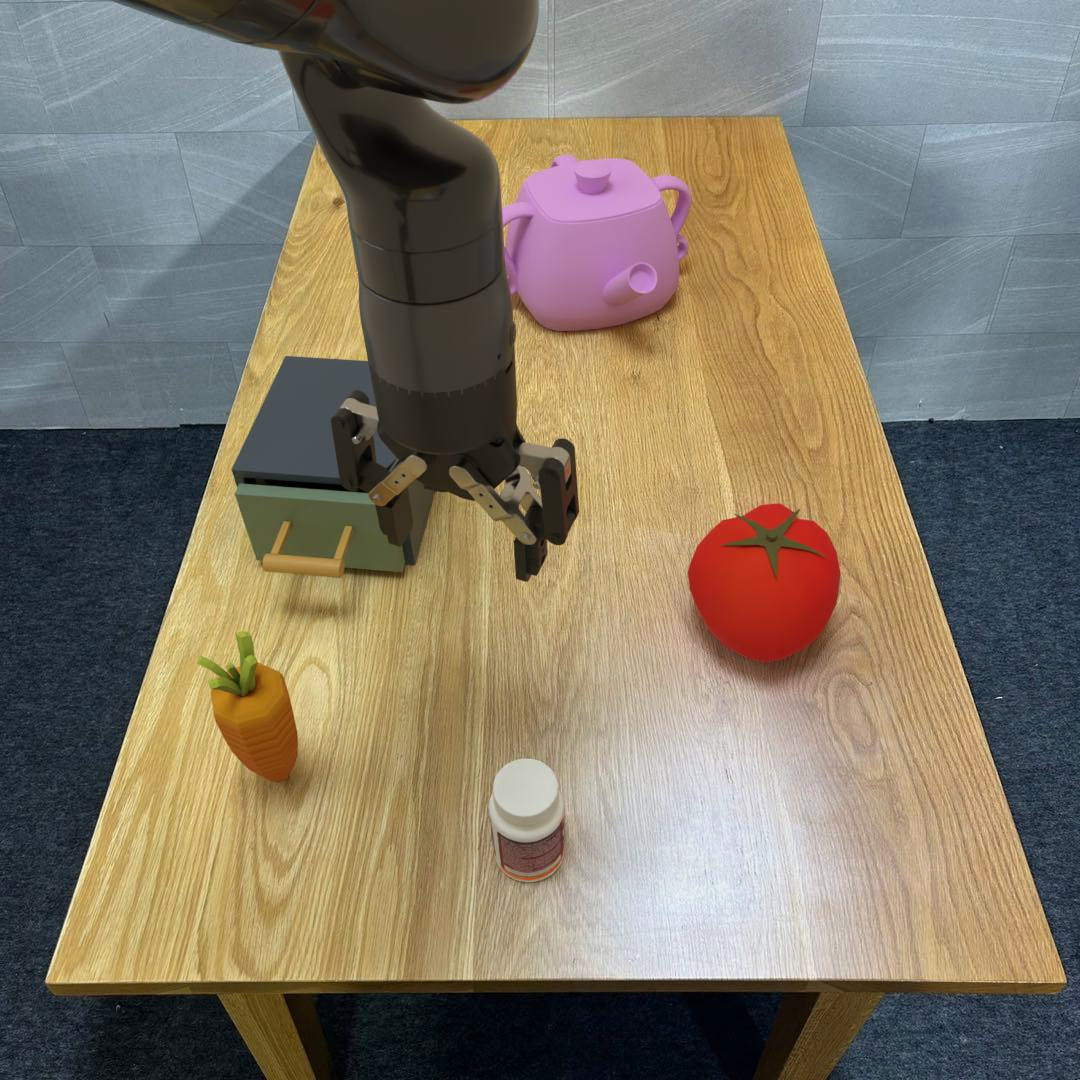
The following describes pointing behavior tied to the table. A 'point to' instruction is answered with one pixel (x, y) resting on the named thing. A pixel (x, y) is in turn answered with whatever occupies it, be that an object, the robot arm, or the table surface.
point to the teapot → (594, 243)
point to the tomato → (765, 582)
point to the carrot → (254, 713)
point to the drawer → (314, 528)
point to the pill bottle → (527, 820)
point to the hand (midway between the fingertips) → (464, 553)
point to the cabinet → (315, 432)
